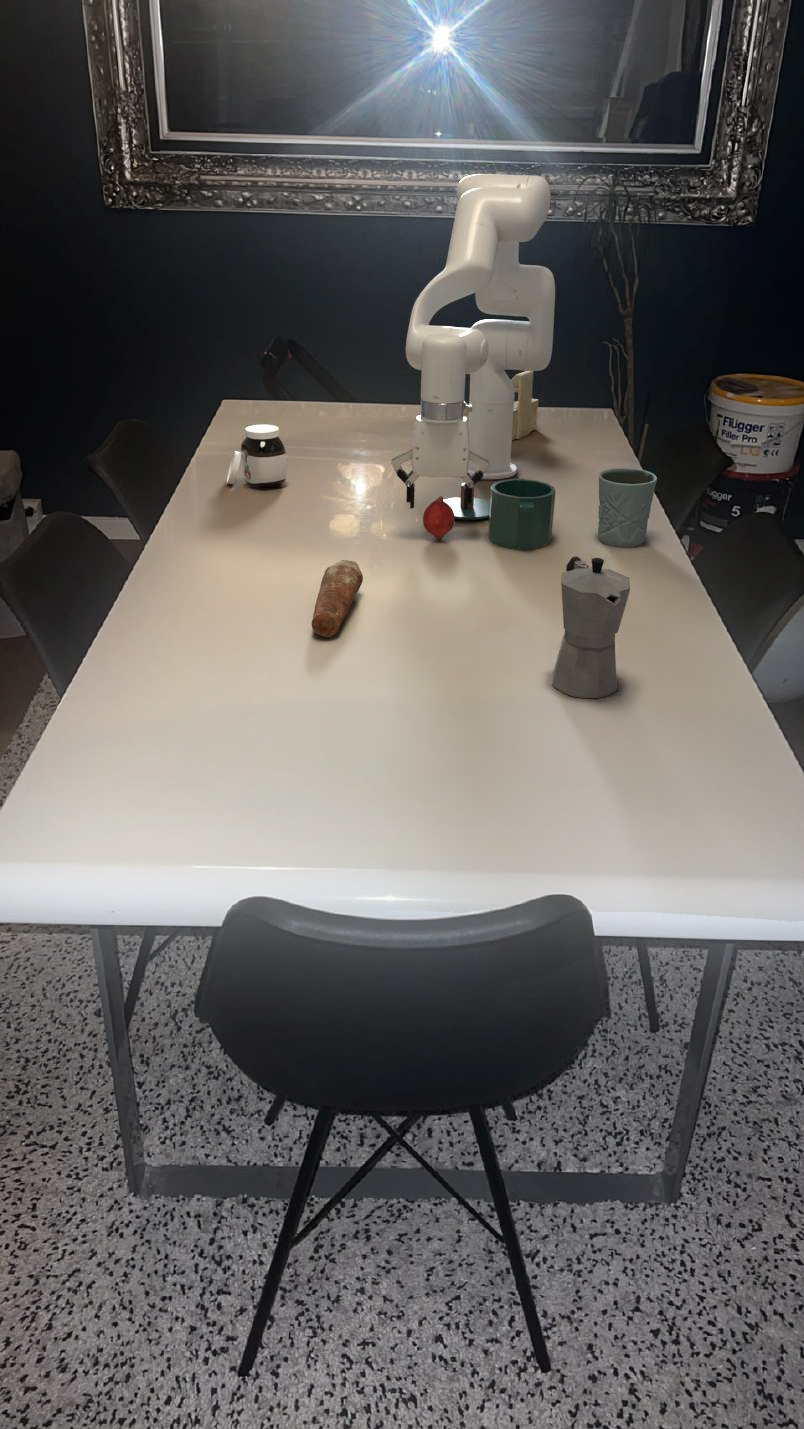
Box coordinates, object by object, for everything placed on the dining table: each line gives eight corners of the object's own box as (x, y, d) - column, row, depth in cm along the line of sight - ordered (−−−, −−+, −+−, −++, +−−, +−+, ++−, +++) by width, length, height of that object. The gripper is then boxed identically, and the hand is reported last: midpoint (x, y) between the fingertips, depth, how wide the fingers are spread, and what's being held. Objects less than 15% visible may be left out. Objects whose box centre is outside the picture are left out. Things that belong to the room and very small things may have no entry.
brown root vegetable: (364, 592, 168) (364, 559, 165) (340, 642, 151) (340, 607, 148) (326, 589, 168) (325, 557, 166) (298, 639, 152) (297, 604, 149)
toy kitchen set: (481, 420, 268) (484, 359, 261) (539, 430, 260) (544, 367, 253) (444, 435, 255) (446, 372, 247) (504, 446, 247) (508, 380, 239)
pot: (491, 554, 183) (494, 502, 179) (485, 523, 198) (488, 474, 193) (556, 555, 183) (560, 503, 179) (545, 524, 198) (549, 475, 193)
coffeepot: (636, 702, 136) (654, 574, 127) (569, 710, 134) (582, 580, 125) (591, 652, 149) (605, 533, 140) (529, 658, 147) (539, 537, 138)
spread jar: (292, 487, 216) (290, 431, 210) (243, 496, 211) (240, 439, 205) (265, 473, 225) (262, 419, 219) (218, 481, 219) (213, 426, 213)
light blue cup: (658, 539, 191) (667, 475, 185) (629, 553, 185) (637, 487, 179) (611, 526, 197) (619, 464, 191) (581, 539, 191) (588, 475, 185)
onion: (417, 541, 189) (418, 498, 185) (429, 531, 193) (430, 489, 190) (447, 545, 187) (449, 502, 183) (458, 535, 192) (460, 493, 188)
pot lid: (435, 522, 198) (436, 493, 195) (434, 502, 209) (435, 474, 206) (500, 523, 198) (502, 494, 195) (495, 503, 209) (497, 475, 206)
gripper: (490, 406, 182) (485, 501, 190) (392, 404, 182) (391, 499, 190) (493, 416, 175) (487, 514, 184) (391, 414, 175) (390, 512, 184)
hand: (438, 506), depth 187 cm, fingers open, 9 cm apart
